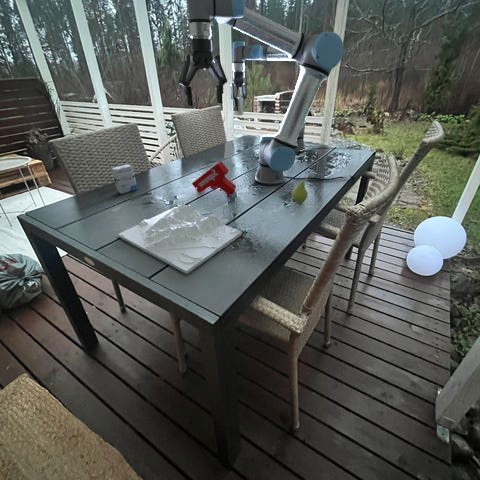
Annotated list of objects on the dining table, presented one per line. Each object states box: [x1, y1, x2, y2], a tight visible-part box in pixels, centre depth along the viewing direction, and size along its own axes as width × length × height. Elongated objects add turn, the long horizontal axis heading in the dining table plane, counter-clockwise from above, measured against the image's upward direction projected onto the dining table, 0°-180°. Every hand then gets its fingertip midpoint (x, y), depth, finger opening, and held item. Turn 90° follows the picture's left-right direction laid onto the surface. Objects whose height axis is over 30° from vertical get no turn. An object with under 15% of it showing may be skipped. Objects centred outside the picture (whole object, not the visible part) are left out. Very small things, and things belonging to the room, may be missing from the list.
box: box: [233, 96, 244, 117], centre depth 188 cm, size 5×4×11 cm
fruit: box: [291, 174, 311, 204], centre depth 118 cm, size 7×8×12 cm
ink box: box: [110, 164, 138, 195], centre depth 131 cm, size 8×5×12 cm, turn 135°
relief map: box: [117, 202, 243, 275], centre depth 96 cm, size 27×35×5 cm
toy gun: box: [191, 161, 237, 197], centre depth 128 cm, size 18×4×15 cm
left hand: (205, 104), depth 109 cm, fingers open, 13 cm apart
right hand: (239, 110), depth 189 cm, fingers closed on box, 4 cm apart
